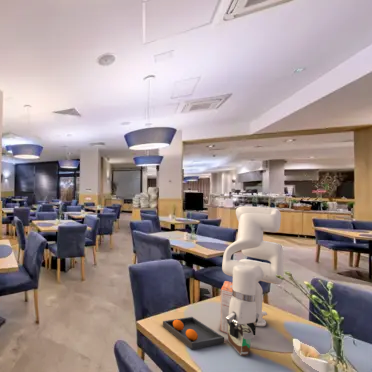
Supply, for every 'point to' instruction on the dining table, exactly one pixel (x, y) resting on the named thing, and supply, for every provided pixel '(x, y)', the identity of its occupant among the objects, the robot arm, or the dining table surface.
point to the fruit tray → (204, 333)
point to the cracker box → (225, 304)
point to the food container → (241, 339)
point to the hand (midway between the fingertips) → (242, 335)
